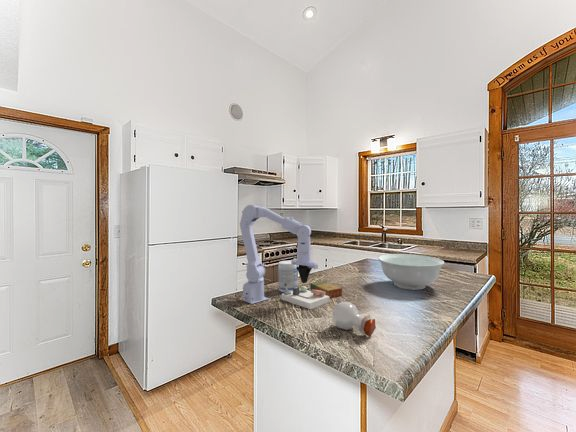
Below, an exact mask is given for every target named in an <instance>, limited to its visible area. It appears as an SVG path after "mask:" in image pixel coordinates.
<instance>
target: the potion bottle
mask: <svg viewBox="0 0 576 432" xmlns="http://www.w3.org/2000/svg"><path fill="white" fill-rule="evenodd" d="M331 311H332V321H333V322H334V324H335V326H336V327H338V328H339V329H341V330H345V331H348V330H349V331H350V330H352V329H354V328H357V330H358V331H359V333H361V334H362V335H363V336H367V337H368V338H371V336H372V335H373V333H374V332H375V330H376V328H377V327H376V325H377V324H376V318H373V319H372V318H371V315H370V314H369V315H366V316H364V315H361V314H360V313H359V310H358V308H357V306H356V305H355V304H353V303H351V302H350V301H341V302H339V303H337V304H336V305H335V307H334V308H333V309H332V310H331Z"/></svg>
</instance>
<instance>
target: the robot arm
mask: <svg viewBox="0 0 576 432" xmlns="http://www.w3.org/2000/svg"><path fill="white" fill-rule="evenodd" d="M241 213H242V214H241V217H240V222H239V227H240V232H241V236H242V237H241V238H242V240H243V241H242V242H243V245H244V250H245V253H246V260H247V263H246V275H245V276H246V279H247V282H244V283H243V285H242V299H241V300H242V301H244V302H246V303H249V304H250V305H253V304H256V303H260V302H263V301H267V300H269V298H268V297H267V296H265V279H264V276H265V274H266V268H265V266H264V265H263V262H262V260H261V259H260V258H259V252H258V248H257V243H256V239H255V234H254V230H253V225H254V224H255V222H256V221H257V220H258V219H260V218H267V219H269V220H271V221H274V222H275V223H278V224H280V225H281V227H282V229H284V230H285V231H288V232H289V233H291V234H294V235H296V236H297V259H292V260H290V261H291V264H295V265H297V267H296V269H297V273H298V275H299V277H300V281H301V283H303V284H306V283H308V280H309V276H310V273H311V271H312V269H313V270H317V269H319V264H318V263H316V262H313V261H311V256H312V255H311V254H312V253H311V249H312V248H311V246H312V245H311V243H312V242H311V234H312V229H311V227H310V226H309V225H308V224H304V223H303V222H302V221H298V220H295V219H294V217H293V216H290V217H289V216H287V217H283V216H281V215H280V214H278V213H276V212H274V211H273V210H271V209H269V208H267V207H264V206H262V205H260V204H248V205H246V206H245V207H244V208H243V210H242V211H241Z"/></svg>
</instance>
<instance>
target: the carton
mask: <svg viewBox="0 0 576 432" xmlns="http://www.w3.org/2000/svg"><path fill="white" fill-rule="evenodd" d="M309 285H310V286H309V287H310V289H309V290H310V291H311V290H321V291H325V292H326V294H325V295H326V296H330V299H333V298H337V297H338V298H339V297H342V296H343V288H342V287H341V286H337V285H335V284H331V283H330V282H326V281H325V280H322V281H321V280H320V281H315V282H310V284H309Z"/></svg>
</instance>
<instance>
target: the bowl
mask: <svg viewBox="0 0 576 432" xmlns="http://www.w3.org/2000/svg"><path fill="white" fill-rule="evenodd" d="M377 258H378V261H379V262H380V265H381V269H382V272H383V274H384V275H385V277H387V278H388V280H390V281H392V282H393V283H394V285H395V286H396V287H397V288H400V289H405V290H411V291H414V290H415V291H420V290H423V289H425V288H426V287H427V286H428V285H429V284H432V283H433V282H435V281H436V280H437V279H438V278H439V277H440V274H441V270H442V267H443V266H444V265H445V261H444V260H442V259H440V258H438V257H433V256H428V255H422V254H413V253H412V254H411V253H410V254H409V253H408V254H407V253H388V254H382V255H380V256H378V257H377ZM395 286H394V287H395Z"/></svg>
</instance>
